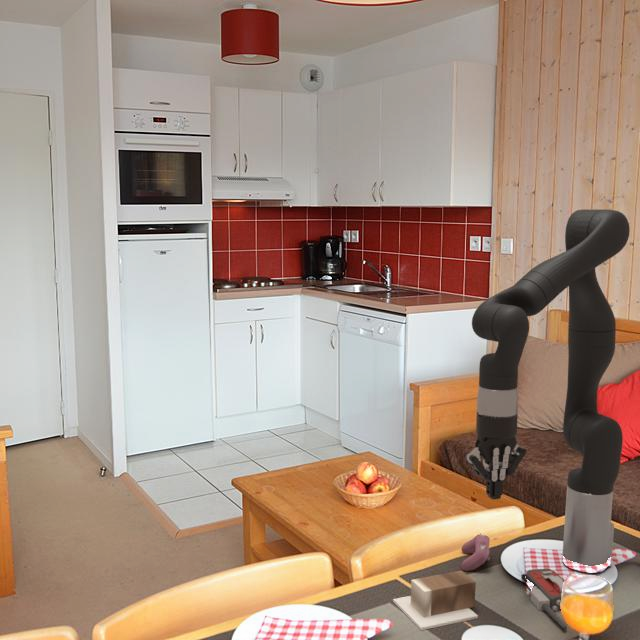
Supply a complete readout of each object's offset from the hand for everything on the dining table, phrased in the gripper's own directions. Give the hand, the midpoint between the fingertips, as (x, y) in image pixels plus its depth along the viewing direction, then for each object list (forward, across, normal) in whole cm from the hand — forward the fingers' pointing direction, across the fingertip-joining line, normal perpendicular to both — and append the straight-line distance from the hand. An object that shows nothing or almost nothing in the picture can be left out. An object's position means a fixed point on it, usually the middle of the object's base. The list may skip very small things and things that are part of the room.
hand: (494, 497), depth 151 cm
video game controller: (+21, -6, -15) cm, 26 cm away
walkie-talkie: (+22, -11, +6) cm, 25 cm away
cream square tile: (+20, +12, 0) cm, 24 cm away
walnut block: (+18, +5, 0) cm, 18 cm away
